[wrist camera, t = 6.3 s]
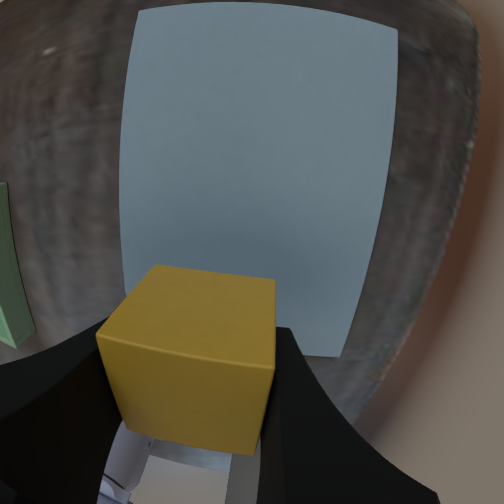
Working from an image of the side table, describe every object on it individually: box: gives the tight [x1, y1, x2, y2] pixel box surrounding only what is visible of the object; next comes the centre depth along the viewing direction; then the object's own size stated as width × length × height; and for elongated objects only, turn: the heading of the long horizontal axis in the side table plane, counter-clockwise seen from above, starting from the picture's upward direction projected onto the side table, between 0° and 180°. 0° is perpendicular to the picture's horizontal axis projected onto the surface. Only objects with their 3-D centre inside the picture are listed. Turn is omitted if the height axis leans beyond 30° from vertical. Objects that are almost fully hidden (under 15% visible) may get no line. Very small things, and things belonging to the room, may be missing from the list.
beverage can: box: [225, 437, 261, 504], centre depth 15 cm, size 6×6×12 cm
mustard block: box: [96, 264, 276, 456], centre depth 8 cm, size 4×4×4 cm
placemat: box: [119, 2, 398, 357], centre depth 14 cm, size 20×14×1 cm
